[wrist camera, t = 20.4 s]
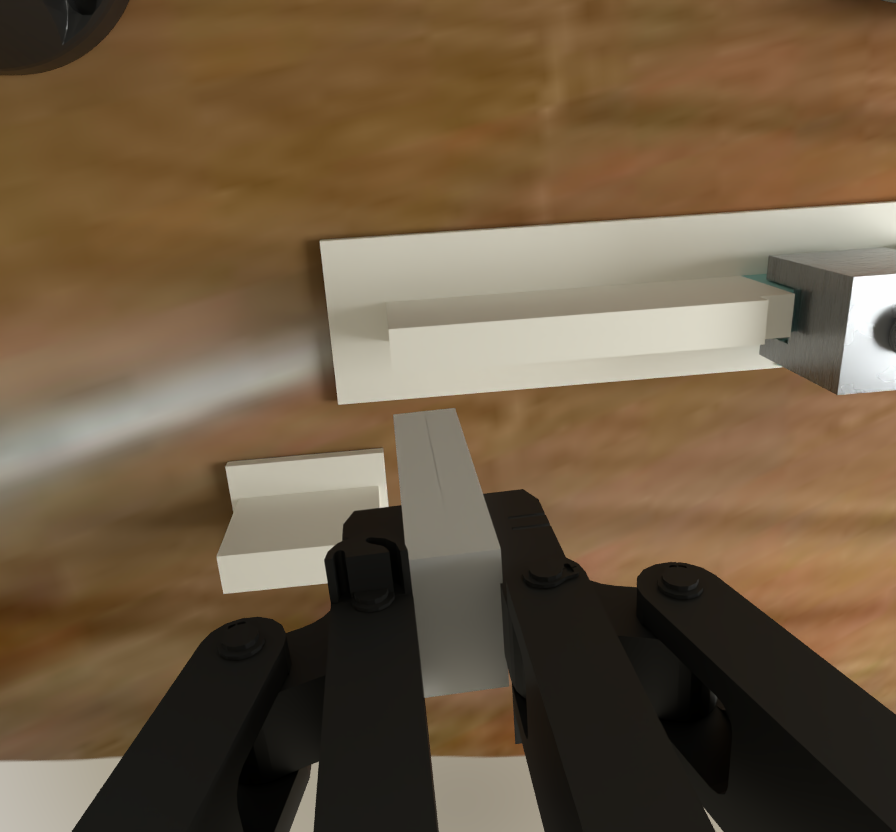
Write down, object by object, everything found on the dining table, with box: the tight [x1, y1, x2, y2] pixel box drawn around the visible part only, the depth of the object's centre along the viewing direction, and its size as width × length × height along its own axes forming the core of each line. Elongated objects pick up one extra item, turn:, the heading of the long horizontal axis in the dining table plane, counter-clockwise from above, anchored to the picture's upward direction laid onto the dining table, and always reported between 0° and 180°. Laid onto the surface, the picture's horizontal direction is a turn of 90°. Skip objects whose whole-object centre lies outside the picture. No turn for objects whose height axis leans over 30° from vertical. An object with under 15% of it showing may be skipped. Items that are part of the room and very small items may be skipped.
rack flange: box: [320, 201, 896, 405], centre depth 41 cm, size 10×37×10 cm, turn 93°
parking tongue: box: [217, 448, 389, 594], centre depth 44 cm, size 7×10×8 cm
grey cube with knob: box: [759, 247, 896, 395], centre depth 39 cm, size 6×7×9 cm
